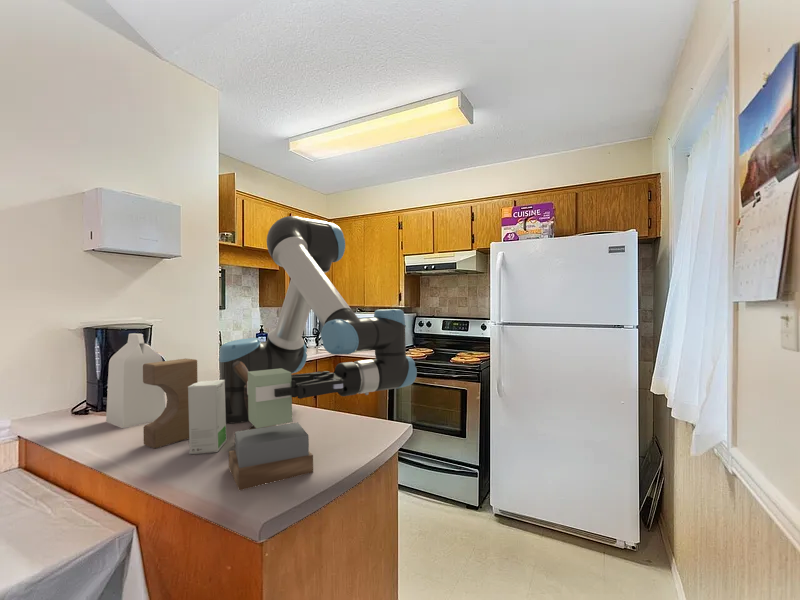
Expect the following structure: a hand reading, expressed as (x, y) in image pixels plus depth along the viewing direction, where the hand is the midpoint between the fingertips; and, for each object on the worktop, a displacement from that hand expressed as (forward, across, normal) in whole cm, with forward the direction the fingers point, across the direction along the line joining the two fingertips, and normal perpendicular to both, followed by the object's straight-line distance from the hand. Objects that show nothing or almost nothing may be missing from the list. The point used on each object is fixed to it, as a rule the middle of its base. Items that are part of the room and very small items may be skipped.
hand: (251, 391), depth 80 cm
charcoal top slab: (-4, 0, -13) cm, 14 cm away
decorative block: (+13, +33, -17) cm, 39 cm away
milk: (+21, +61, -16) cm, 67 cm away
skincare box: (+6, +22, -17) cm, 28 cm away
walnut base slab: (-3, 0, -17) cm, 18 cm away
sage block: (-3, 0, -7) cm, 7 cm away
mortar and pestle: (-6, +24, -17) cm, 30 cm away
